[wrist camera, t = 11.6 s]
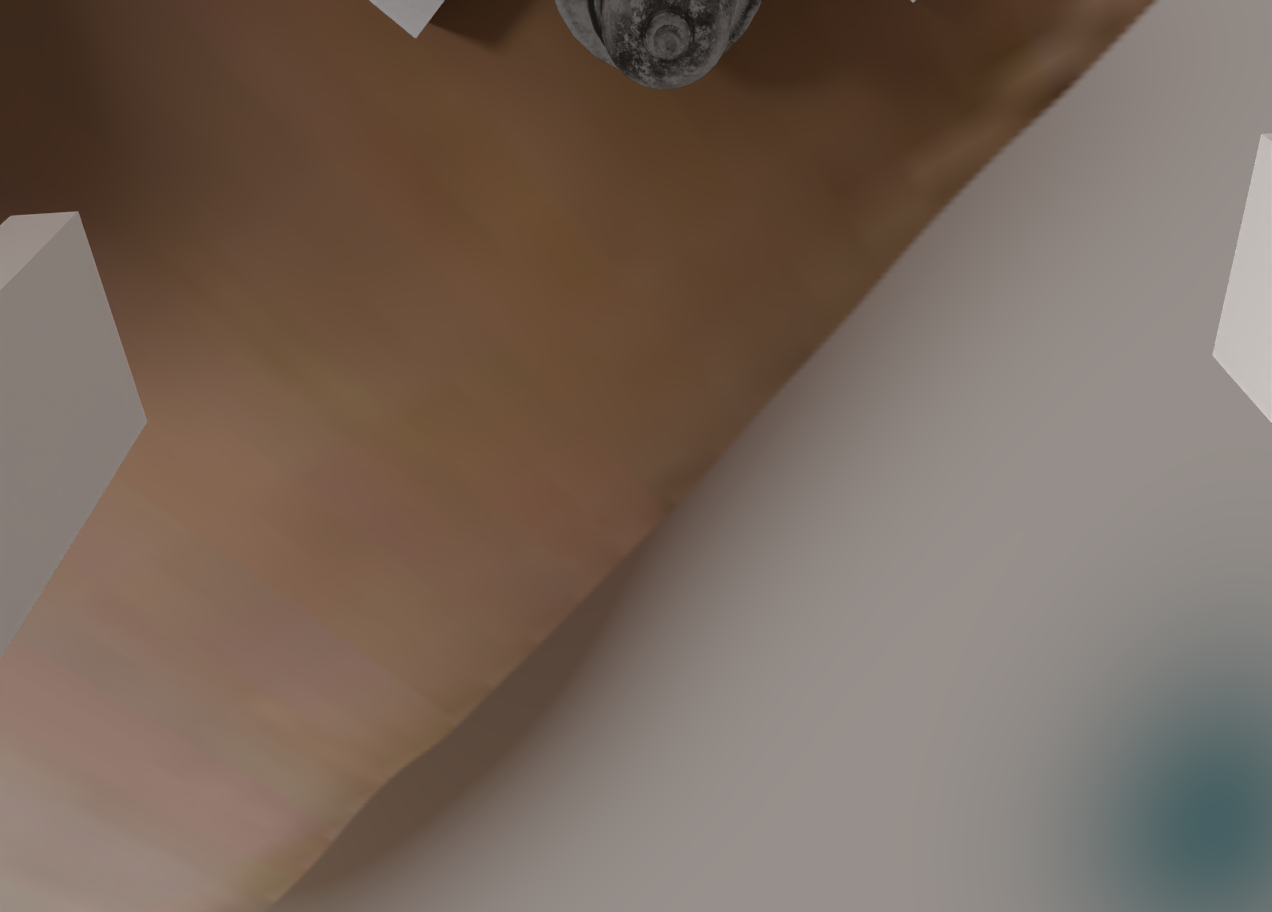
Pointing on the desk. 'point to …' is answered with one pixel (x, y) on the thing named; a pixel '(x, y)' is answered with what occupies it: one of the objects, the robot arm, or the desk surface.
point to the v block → (412, 12)
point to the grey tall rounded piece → (658, 35)
